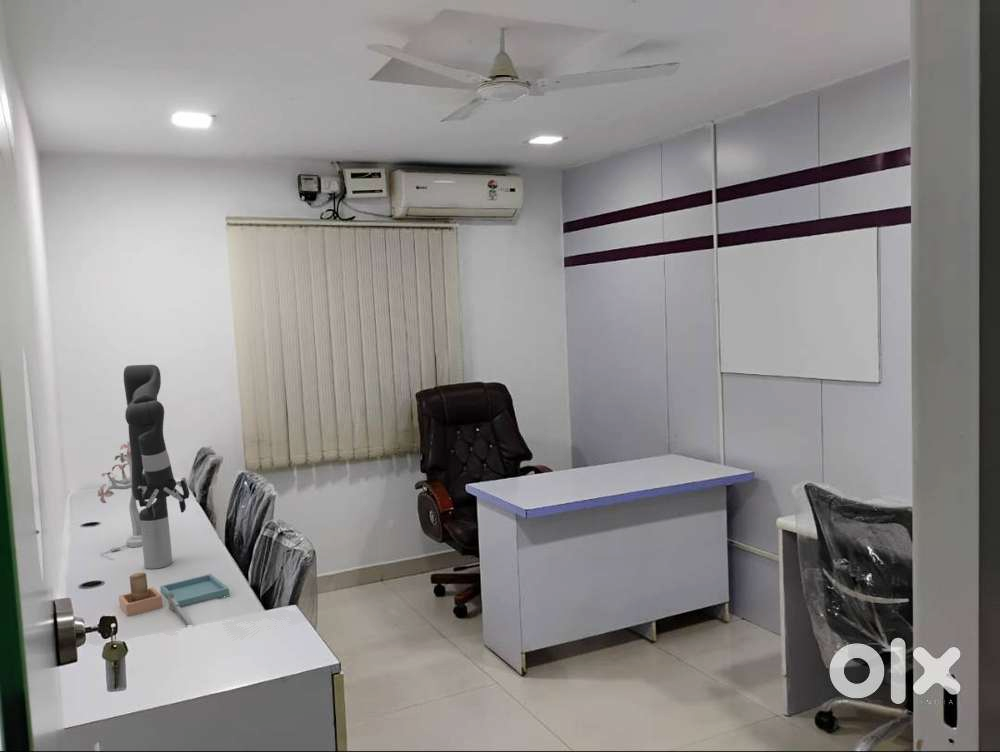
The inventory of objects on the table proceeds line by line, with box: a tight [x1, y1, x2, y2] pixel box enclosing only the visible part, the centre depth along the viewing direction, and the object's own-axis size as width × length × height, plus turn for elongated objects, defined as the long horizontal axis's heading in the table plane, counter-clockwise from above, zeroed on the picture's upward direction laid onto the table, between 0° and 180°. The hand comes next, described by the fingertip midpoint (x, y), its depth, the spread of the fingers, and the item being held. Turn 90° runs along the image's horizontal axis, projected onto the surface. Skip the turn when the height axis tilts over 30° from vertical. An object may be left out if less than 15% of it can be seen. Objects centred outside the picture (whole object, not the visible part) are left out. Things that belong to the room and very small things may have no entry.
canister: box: [129, 572, 148, 602], centre depth 247 cm, size 5×5×10 cm
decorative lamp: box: [97, 441, 145, 560], centre depth 311 cm, size 28×24×40 cm
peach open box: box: [118, 587, 163, 617], centre depth 247 cm, size 10×10×4 cm
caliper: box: [167, 592, 194, 626], centre depth 237 cm, size 20×1×6 cm, turn 39°
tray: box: [159, 573, 230, 608], centre depth 257 cm, size 18×16×2 cm
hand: (168, 514), depth 249 cm, fingers open, 8 cm apart
